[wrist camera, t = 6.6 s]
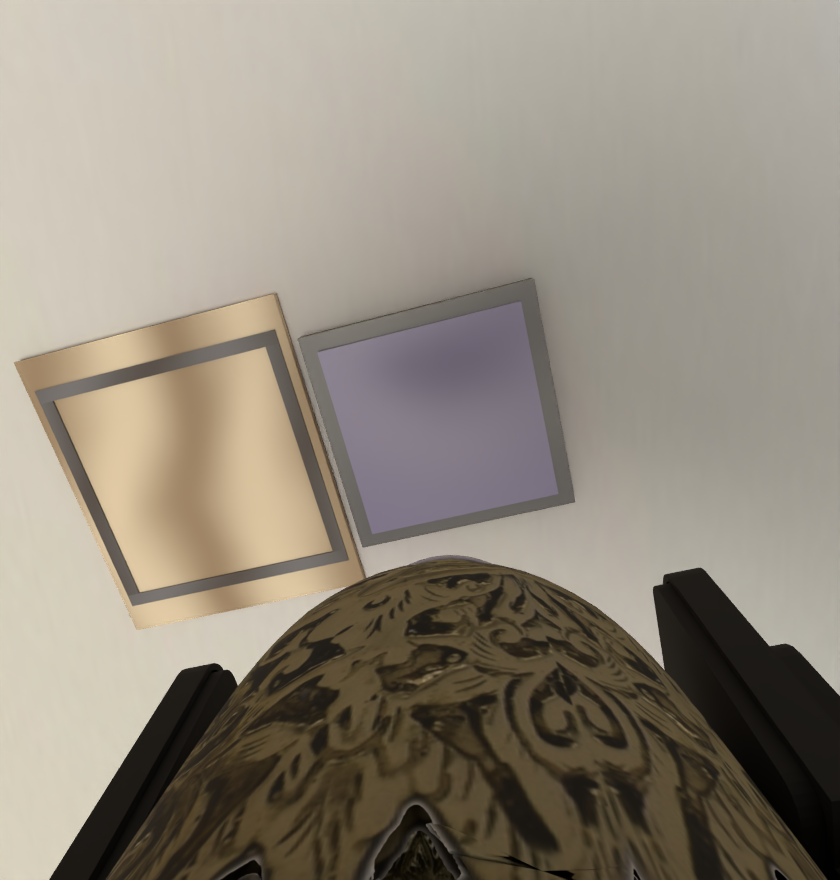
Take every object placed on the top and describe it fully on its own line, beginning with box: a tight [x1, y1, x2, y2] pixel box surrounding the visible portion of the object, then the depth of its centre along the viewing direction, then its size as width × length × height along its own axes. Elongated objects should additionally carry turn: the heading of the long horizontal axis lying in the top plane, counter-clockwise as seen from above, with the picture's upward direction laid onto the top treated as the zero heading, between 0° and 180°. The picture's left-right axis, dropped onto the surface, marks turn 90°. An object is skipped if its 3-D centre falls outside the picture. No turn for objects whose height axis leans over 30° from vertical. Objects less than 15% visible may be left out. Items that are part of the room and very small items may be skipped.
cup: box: [106, 555, 827, 880], centre depth 7 cm, size 8×7×8 cm
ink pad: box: [298, 278, 575, 547], centre depth 25 cm, size 10×10×1 cm
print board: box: [14, 293, 366, 630], centre depth 27 cm, size 12×14×1 cm
